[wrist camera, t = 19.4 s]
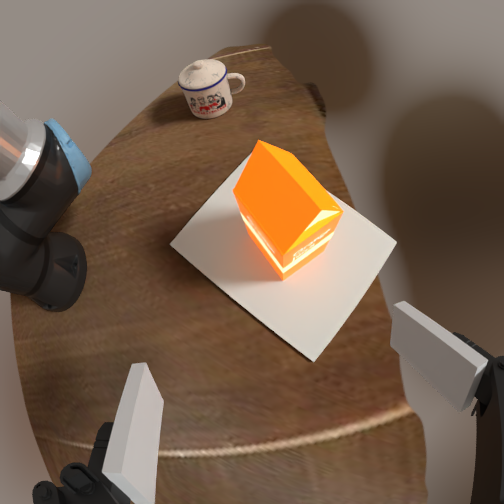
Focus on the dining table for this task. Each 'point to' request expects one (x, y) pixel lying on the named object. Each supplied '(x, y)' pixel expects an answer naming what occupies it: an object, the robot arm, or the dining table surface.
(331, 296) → the rubber mat
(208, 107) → the teacup with lid
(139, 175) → the dining table surface
